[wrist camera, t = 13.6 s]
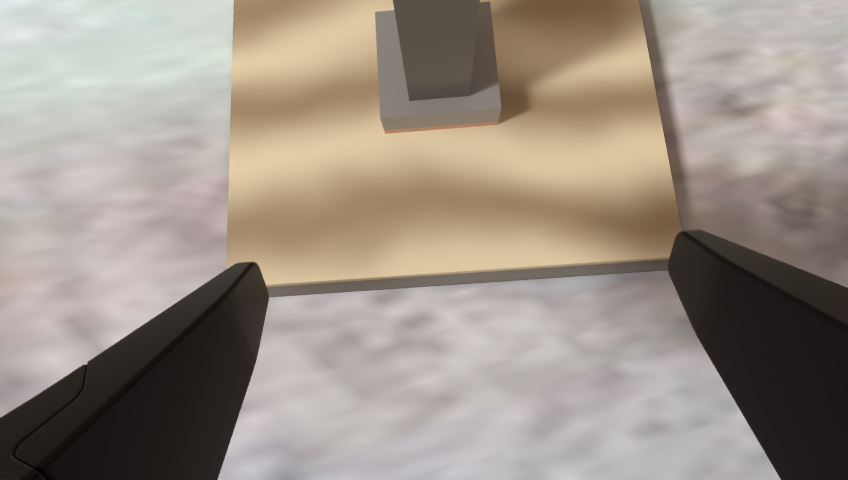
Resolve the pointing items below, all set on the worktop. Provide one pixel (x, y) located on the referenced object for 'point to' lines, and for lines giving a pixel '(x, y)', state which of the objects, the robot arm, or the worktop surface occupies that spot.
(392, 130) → the grey stepped block
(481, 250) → the birch board
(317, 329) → the worktop surface
